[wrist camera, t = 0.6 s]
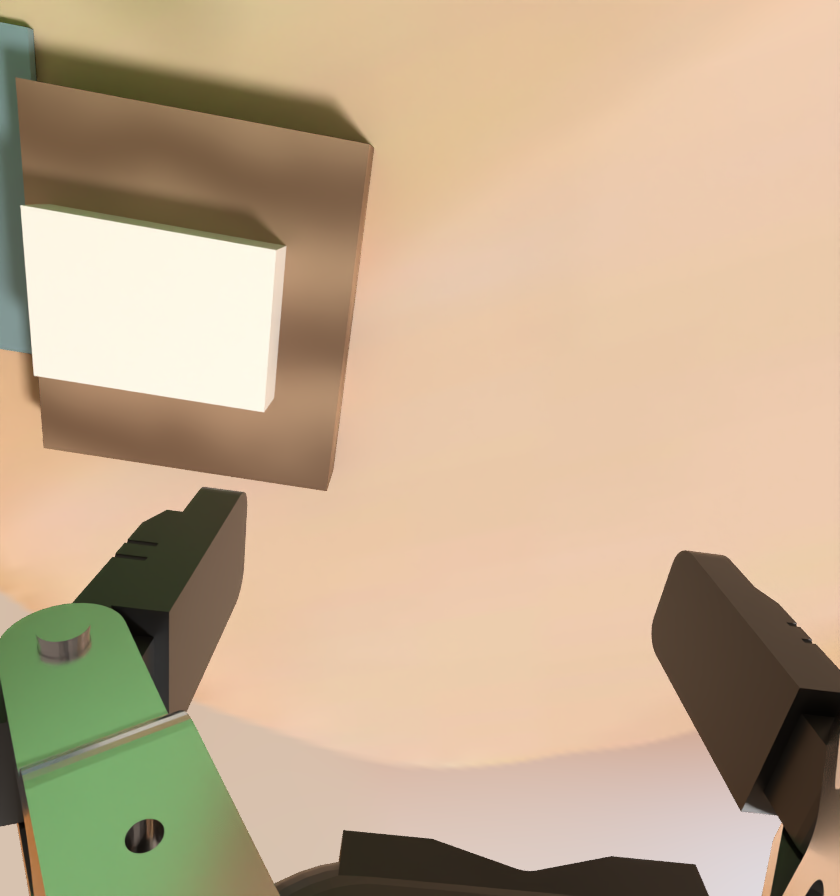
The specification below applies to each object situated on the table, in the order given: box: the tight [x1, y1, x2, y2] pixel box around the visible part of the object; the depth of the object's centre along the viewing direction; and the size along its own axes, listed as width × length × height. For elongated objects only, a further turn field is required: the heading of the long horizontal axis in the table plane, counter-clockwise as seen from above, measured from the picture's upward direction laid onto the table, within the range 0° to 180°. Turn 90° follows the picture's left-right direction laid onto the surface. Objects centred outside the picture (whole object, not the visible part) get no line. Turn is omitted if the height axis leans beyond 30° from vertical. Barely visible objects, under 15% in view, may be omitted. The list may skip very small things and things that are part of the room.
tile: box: [20, 204, 286, 412], centre depth 26 cm, size 7×10×2 cm
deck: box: [15, 77, 374, 491], centre depth 29 cm, size 16×14×2 cm
